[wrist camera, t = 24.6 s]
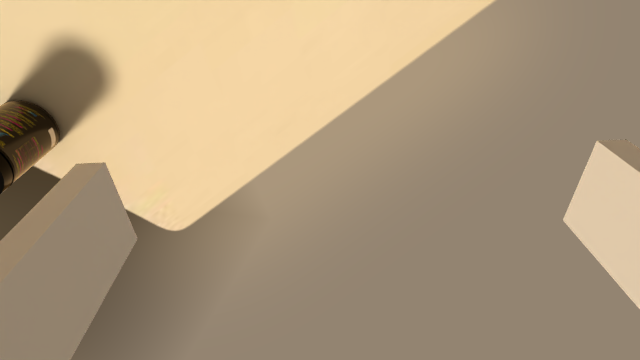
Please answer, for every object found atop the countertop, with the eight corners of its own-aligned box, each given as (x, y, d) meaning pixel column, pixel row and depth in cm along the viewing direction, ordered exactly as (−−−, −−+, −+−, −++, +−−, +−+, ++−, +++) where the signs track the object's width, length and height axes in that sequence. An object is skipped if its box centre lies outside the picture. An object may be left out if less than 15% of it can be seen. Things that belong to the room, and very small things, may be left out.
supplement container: (-8, 93, 42) (-90, 136, 34) (55, 102, 43) (-8, 146, 34) (10, 145, 46) (-59, 196, 37) (68, 152, 47) (13, 203, 38)
